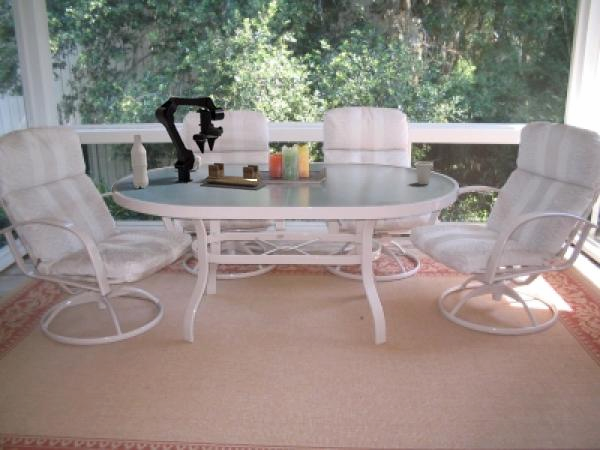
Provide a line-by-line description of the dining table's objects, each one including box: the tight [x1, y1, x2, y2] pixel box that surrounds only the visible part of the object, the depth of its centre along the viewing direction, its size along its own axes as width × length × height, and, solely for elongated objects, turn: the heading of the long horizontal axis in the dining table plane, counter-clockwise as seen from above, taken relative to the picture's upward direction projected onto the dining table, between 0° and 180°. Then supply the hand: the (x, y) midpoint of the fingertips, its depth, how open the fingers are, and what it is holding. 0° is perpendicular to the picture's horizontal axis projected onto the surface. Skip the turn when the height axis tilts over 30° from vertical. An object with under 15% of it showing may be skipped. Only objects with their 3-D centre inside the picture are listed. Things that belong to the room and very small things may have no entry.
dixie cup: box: [415, 161, 433, 185], centre depth 293 cm, size 8×8×10 cm
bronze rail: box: [205, 175, 259, 187], centre depth 288 cm, size 4×26×4 cm
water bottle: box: [130, 134, 149, 190], centre depth 283 cm, size 7×7×25 cm
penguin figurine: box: [192, 154, 202, 172], centre depth 329 cm, size 6×8×12 cm
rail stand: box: [205, 162, 263, 183], centre depth 300 cm, size 9×27×8 cm, turn 71°
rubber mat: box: [200, 181, 267, 191], centre depth 290 cm, size 11×30×1 cm, turn 71°
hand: (207, 152), depth 308 cm, fingers open, 9 cm apart
